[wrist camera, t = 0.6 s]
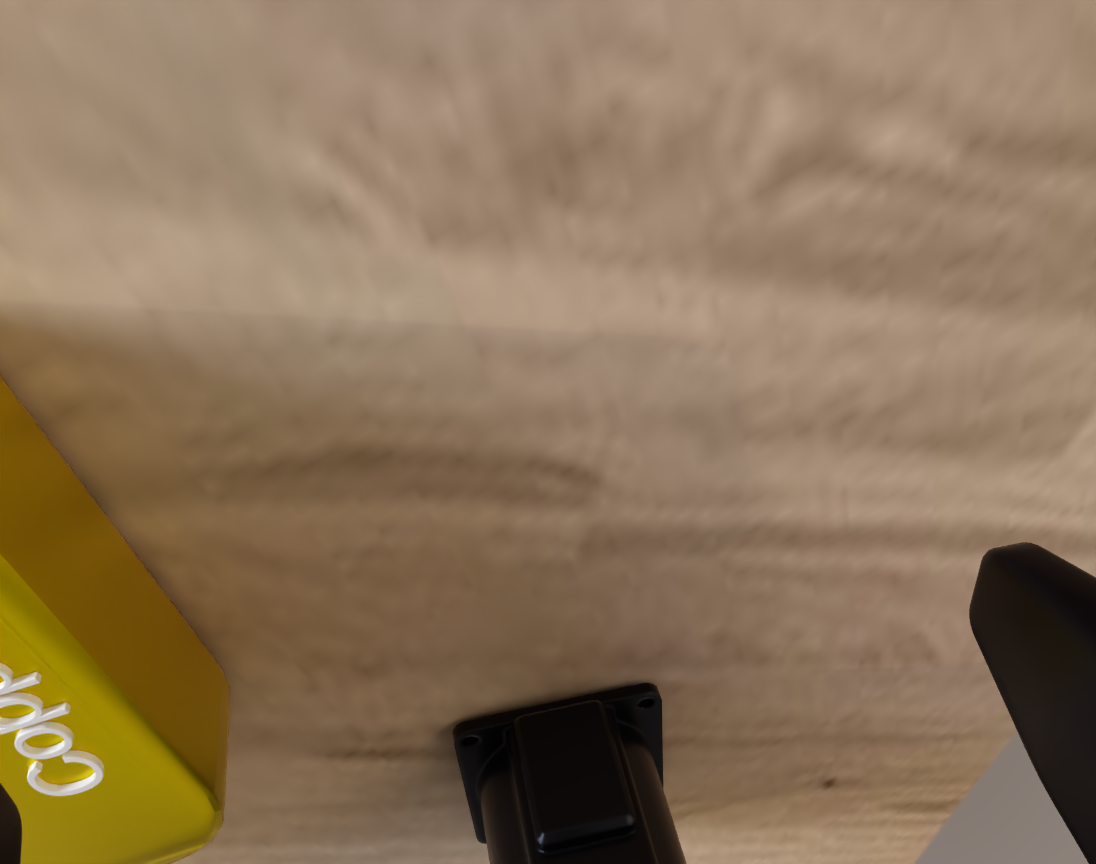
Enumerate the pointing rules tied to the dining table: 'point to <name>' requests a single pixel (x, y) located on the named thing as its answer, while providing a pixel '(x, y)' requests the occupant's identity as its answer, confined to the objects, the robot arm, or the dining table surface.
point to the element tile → (96, 678)
